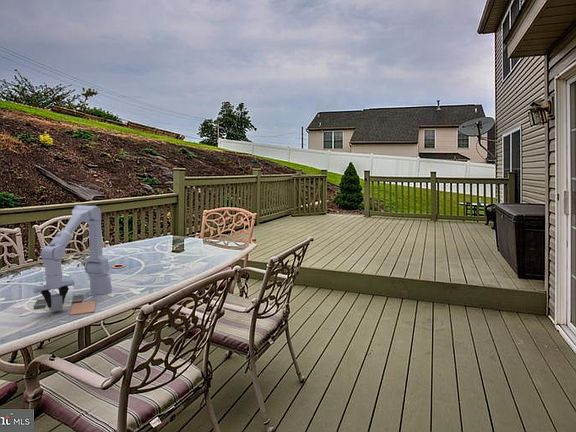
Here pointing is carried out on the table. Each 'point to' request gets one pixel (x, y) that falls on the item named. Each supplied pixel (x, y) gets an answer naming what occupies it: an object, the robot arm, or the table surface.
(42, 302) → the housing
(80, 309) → the mat
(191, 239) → the table surface
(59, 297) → the plug
